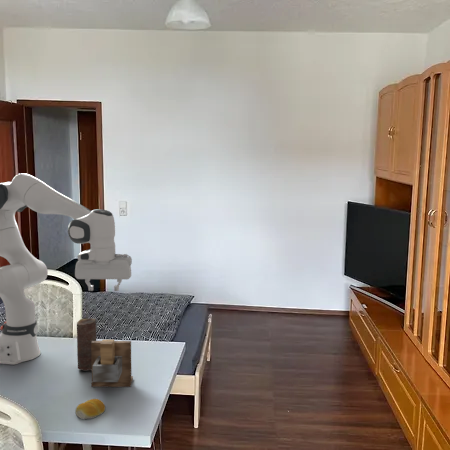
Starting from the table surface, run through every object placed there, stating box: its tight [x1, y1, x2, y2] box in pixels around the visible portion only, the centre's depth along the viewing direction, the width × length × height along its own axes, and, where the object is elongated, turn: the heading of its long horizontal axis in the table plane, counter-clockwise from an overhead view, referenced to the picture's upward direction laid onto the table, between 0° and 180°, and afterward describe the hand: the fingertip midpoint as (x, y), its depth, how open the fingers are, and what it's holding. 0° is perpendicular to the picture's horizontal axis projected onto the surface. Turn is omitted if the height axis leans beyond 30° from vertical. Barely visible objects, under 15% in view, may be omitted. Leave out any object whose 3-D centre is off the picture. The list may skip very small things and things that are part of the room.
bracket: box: [91, 340, 134, 388], centre depth 173 cm, size 14×15×16 cm
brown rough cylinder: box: [76, 317, 97, 372], centre depth 188 cm, size 8×7×20 cm
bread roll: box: [75, 398, 106, 420], centre depth 158 cm, size 8×9×4 cm
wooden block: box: [100, 339, 115, 365], centre depth 169 cm, size 4×4×12 cm
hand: (103, 290), depth 180 cm, fingers open, 8 cm apart
